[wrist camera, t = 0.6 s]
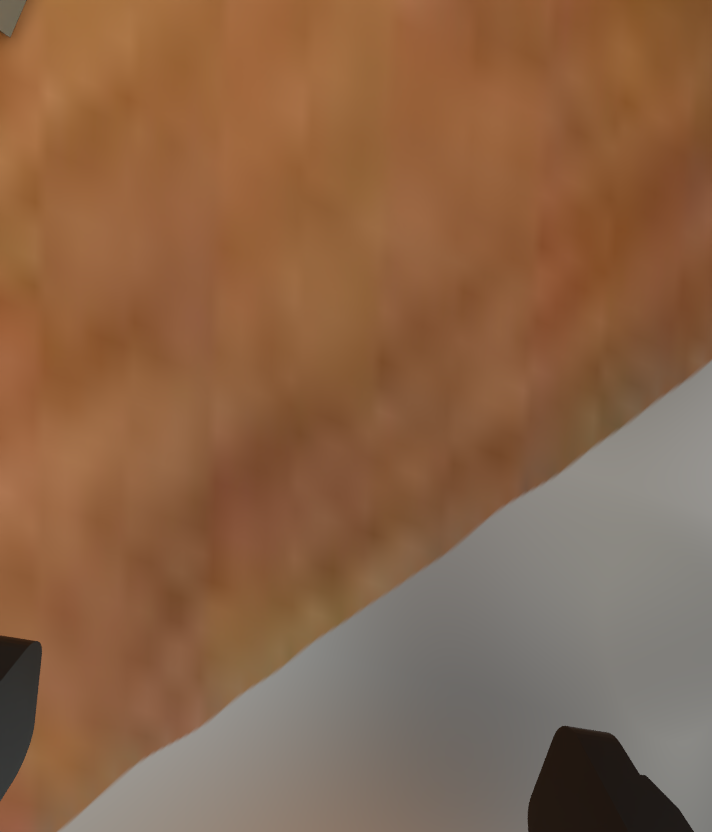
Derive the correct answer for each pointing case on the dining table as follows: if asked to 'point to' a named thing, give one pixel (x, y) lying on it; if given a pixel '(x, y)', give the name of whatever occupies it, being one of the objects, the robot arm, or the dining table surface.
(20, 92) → the dining table surface
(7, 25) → the sage tile
